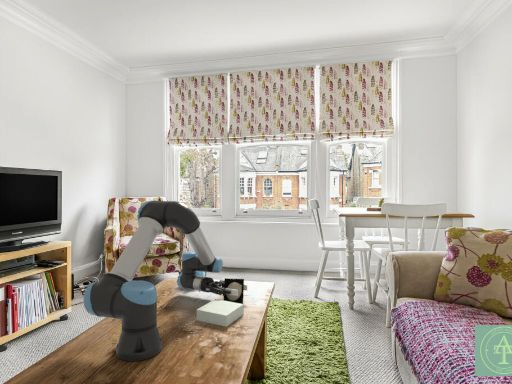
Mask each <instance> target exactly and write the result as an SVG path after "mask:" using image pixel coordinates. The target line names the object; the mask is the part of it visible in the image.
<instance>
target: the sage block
mask: <svg viewBox="0 0 512 384" xmlns="http://www.w3.org/2000/svg"><path fill="white" fill-rule="evenodd" d="M244 307H245V305H244V303H243V304H240V303H234V302H229V301H224V299H223V300H221V299H217V298H216V299H213V300H211V301H210V302H207V303H206V304H204V305H202V306H201V307H199V308H197V309H196V321H198V322H203V323H208V324H212V325H216V326H220V327H221V326H222V327H229V326H230V325H231V324H233V323H234V322H235V321H237V320H238V319H239V318H241V317H242V316H243V315H244V314H245V313H244V312H245V311H244Z"/></svg>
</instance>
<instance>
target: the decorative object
mask: <svg viewBox="0 0 512 384" xmlns="http://www.w3.org/2000/svg"><path fill="white" fill-rule="evenodd" d="M224 281H225V283H224V289H225V288H229V289H235V290H238V296H234V295H228V294H225V296H223V301H229V302H234V303H240V304H244V291H245V290H244V284H245V279H244V278H228V277H227V278H224Z"/></svg>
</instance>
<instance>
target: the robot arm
mask: <svg viewBox="0 0 512 384" xmlns="http://www.w3.org/2000/svg"><path fill="white" fill-rule="evenodd" d="M137 213H138V214H137V217H136V218H137V224H138V227H137V228H136V231H134V233H133V235H132V236H131V238H130V239H129V242H127V244H126V246H125V248H124V249H123V251H122V253H121V254H120V256H119V257H118V259H117V260H116V261H115V264H114V265H113V267H112V268H111V270H110V271H108V272H105V273H104V274H103V275H102V277H101V279H99V280H98V281H96V280H95V281H93V282H91V283H89V285H88V286H87V287H86V289H85V291H84V295H83V306H84V309H85V311H86V312H87V313H88V314H90V315H93V316H96V317H99V318H110V319H116V320H121V331H120V335H119V338H118V343H117V344H116V347H115V356H116V357H117V359H120V360H121V361H124V362H139V361H145V360H148V359H151V358H153V357H154V356H157V355H158V354H159V353H160V352H161V351H162V348H163V344H162V343H163V341H162V337H161V335H160V332H159V329H158V327H157V325H158V293H157V287H156V285H155V284H154V283H152V282H149V281H147V280H142V279H141V280H133V279H134V277H135V275H136V273H137V272H138V270H139V269H140V267H141V265H142V263H143V261H144V260H145V258H146V256H147V254H148V252H149V250H150V249H151V247H152V245H153V243H154V241H155V240H156V238H157V236H160V235H162V234H163V233H164V231H165V229H166V228H175V229H178V230H179V232H180V233H181V234H182V235H185V237H186V239H187V241H188V243H189V244H190V246H191V247H192V250H193V251H185V252H182V254H181V273H180V274H179V275H178V276H177V279H176V284H177V287H178V288H181V289H184V290H192V291H196V292H199V293H200V292H203V293H210V294H211V293H212V294H215V295H218V296H223V297H224V296H225V294H228V295H234V296H238V290H235V289H229V288H225V289H224V283H225V280H222V279H220V280H219V281H218V280H214V278H212V277H211V276H210V277H209V276H206V277H204V276H205V275H204V276H197V275H196V271H202V272H203V273H205V272H207V273H212V274H213V273H215V274H218V273H219V274H220V272H221V271H222V270H223V267H224V266H223V265H224V263H223V259H222V258H221V257H215V254H214V252H213V250H212V249H211V246H210V244H209V242H208V240H207V238H206V236H205V234H204V232H203V230H202V229H201V221H200V219H199V218H198V215H197V214H196V213H195V211H193V210H192V208H190V207H189V206H188V205H186V204H184V203H183V202H180V201H176V200H175V201H174V200H169V201H167V200H147V201H145V202H143V203H142V204H140V206H139V208H138V210H137ZM244 291H248V284H245V283H244Z"/></svg>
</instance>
